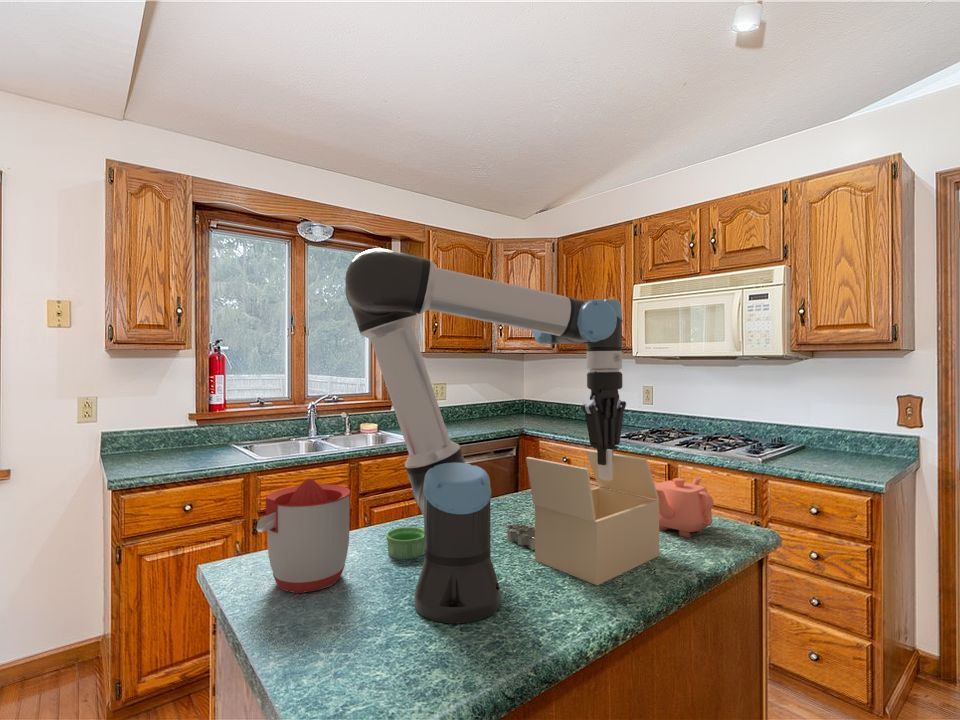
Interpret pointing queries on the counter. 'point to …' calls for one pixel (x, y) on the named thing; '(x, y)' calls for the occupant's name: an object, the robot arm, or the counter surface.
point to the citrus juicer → (307, 535)
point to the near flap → (561, 488)
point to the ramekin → (405, 542)
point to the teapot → (683, 506)
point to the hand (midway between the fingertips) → (605, 479)
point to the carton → (599, 536)
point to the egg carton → (521, 534)
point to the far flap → (626, 475)
